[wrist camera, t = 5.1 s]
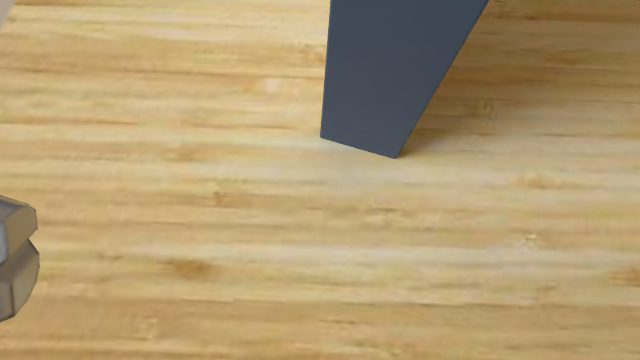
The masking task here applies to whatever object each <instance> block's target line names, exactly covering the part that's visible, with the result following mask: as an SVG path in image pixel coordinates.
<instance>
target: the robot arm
mask: <svg viewBox="0 0 640 360" xmlns="http://www.w3.org/2000/svg"><path fill="white" fill-rule="evenodd" d="M37 229H38V225H37V216H36V209H34V208H33V207H31V206H30V205H28V204H26V203H23V202H20V201H17V200H14V199H10V198H7V197H4V196H1V195H0V322H2V321H5V320H7V319H10V318H12V317H14V316H15V315H16V314H17V313H18V311H19V310H20V309H21V308H22V307H23V305H24V304H25V303H26V302H27V300H28V298H29V296H30V294H31V292H32V290H33V288H34V286H35V284H36V282H37V277H38V272H39V267H40V263H39V252H38V251H37V249H36V248H35V247H34V245H33V244H32V242H31V241H30V240H29V237H30V236H31V235H32V234H33V233H34V232H35V231H36V230H37Z"/></svg>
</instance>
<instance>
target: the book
mask: <svg viewBox="0 0 640 360" xmlns="http://www.w3.org/2000/svg"><path fill="white" fill-rule="evenodd" d="M488 1H489V0H331V2H330V15H329V28H328V41H327V54H326V67H325V80H324V93H323V106H322V119H321V132H320V137H321V138H323V139H327V140H330V141H334V142H337V143H341V144H344V145H348V146H351V147H355V148H358V149H362V150H365V151H369V152H372V153H376V154H379V155H383V156H386V157H390V158H393V159H396V157H397V156H398V154H399V152H400V150H401V149H402V147H403V145H404V144H405V142H406V140H407V139H408V137H409V135H410V133H411V132H412V130H413V128H414V127H415V125H416V123H417V122H418V120H419V118H420V117H421V115H422V113H423V111H424V110H425V108H426V106H427V105H428V103H429V101H430V100H431V98H432V96H433V94H434V93H435V91H436V89H437V88H438V86H439V84H440V83H441V81H442V79H443V78H444V76H445V74H446V72H447V71H448V69H449V67H450V66H451V64H452V62H453V61H454V59H455V57H456V55H457V54H458V52H459V50H460V49H461V47H462V45H463V44H464V42H465V40H466V39H467V37H468V35H469V33H470V32H471V30H472V28H473V27H474V25H475V23H476V22H477V20H478V18H479V16H480V15H481V13H482V11H483V10H484V8H485V6H486V5H487V3H488Z"/></svg>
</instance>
